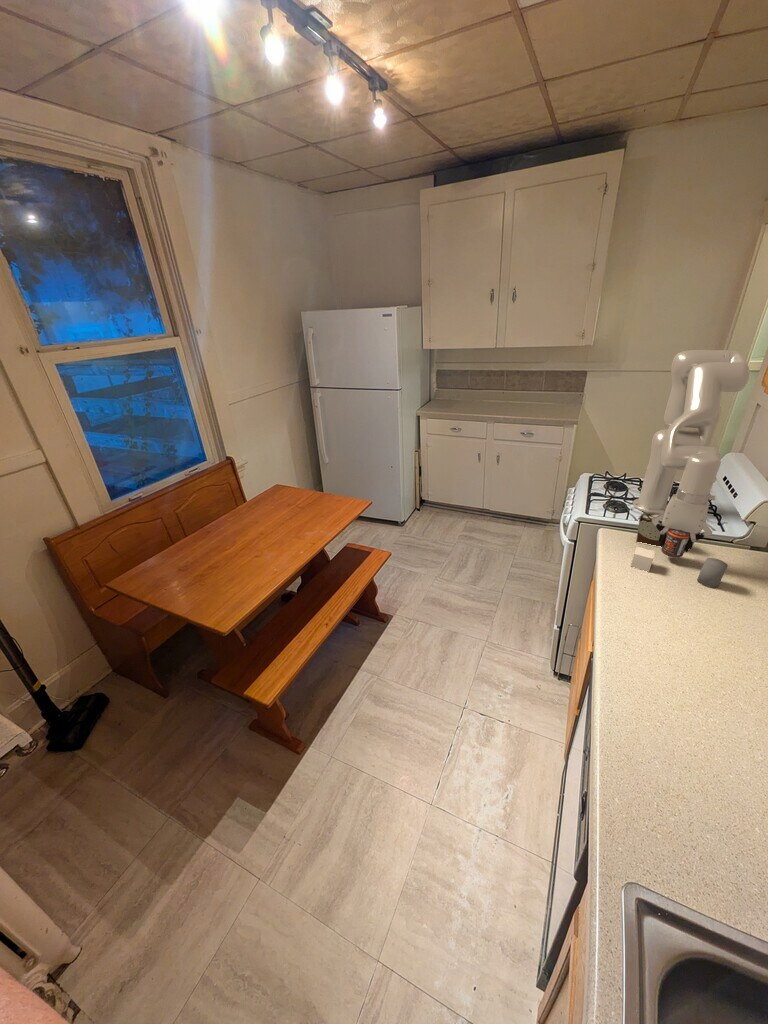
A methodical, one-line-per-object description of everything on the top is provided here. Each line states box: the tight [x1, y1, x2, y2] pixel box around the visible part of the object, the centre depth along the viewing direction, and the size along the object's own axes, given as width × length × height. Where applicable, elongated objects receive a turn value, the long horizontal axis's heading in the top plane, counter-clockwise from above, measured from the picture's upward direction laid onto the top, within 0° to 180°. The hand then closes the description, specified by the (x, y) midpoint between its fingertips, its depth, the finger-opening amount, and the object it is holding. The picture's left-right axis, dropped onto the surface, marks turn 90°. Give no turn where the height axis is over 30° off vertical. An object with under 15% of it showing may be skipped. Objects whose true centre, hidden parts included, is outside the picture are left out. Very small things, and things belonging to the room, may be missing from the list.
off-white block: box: [630, 546, 656, 573], centre depth 126 cm, size 5×5×5 cm
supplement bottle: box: [660, 528, 691, 559], centre depth 126 cm, size 6×6×11 cm
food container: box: [635, 512, 663, 547], centre depth 137 cm, size 12×6×10 cm, turn 58°
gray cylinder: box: [697, 557, 728, 589], centre depth 117 cm, size 5×5×7 cm
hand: (673, 546), depth 127 cm, fingers closed on supplement bottle, 6 cm apart
